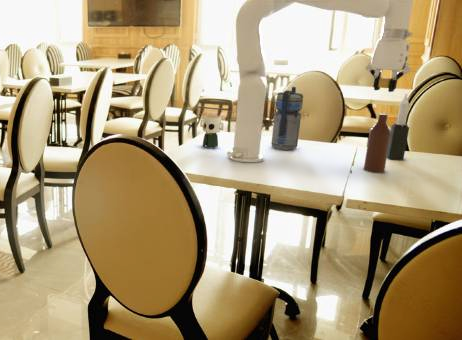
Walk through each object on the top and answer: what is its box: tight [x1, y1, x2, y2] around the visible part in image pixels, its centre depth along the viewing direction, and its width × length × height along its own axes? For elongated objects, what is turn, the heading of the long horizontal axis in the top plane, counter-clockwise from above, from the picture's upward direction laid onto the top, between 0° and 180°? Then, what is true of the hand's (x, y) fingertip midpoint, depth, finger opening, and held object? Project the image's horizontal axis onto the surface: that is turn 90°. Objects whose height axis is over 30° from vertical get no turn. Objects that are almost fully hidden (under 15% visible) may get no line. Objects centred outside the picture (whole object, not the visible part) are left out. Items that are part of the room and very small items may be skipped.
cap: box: [378, 76, 392, 89], centre depth 174 cm, size 4×4×3 cm
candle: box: [386, 93, 410, 161], centre depth 196 cm, size 5×5×25 cm
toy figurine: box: [199, 114, 225, 149], centre depth 212 cm, size 11×7×13 cm, turn 45°
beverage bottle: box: [270, 86, 304, 151], centre depth 210 cm, size 10×13×25 cm
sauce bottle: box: [363, 113, 391, 174], centre depth 179 cm, size 6×6×20 cm
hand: (383, 90), depth 175 cm, fingers closed on cap, 3 cm apart
